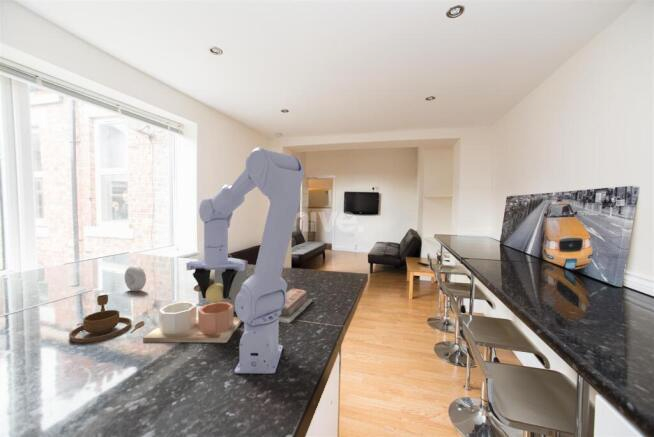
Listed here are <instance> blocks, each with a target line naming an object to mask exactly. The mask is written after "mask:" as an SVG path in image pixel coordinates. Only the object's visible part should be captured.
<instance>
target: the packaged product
mask: <svg viewBox="0 0 654 437" xmlns="http://www.w3.org/2000/svg"><path fill="white" fill-rule="evenodd" d="M286 296H287V301H286V305H285V307H284V308H283V309H281V315H279V323H285V324H290V323H291V322H293V321H294V320H295V318H296V317H298V316H299V315H300V314H301V313H302V312H303V311H304V310H305V309H306V308H307V307H308V306H309V305H310V304H311V303H312V302H313V299H311V298H307V297H308V292H307V290H305V289H299V288H290V289H289V290H286Z"/></svg>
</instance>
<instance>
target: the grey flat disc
mask: <svg viewBox="0 0 654 437" xmlns="http://www.w3.org/2000/svg"><path fill="white" fill-rule="evenodd" d="M146 282H147V276H146V273H145V271H144V269H143V268H142V267H141V266H139V265H137V264H134V265H131V266H129V267H127V269H126V270H125V273H124V283H125V285H126V287H127V288H128V289H129V290H130V291H132V292H139V291H141V290H142V289H143V288H144V287H145V285H146Z"/></svg>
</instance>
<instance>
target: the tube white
mask: <svg viewBox="0 0 654 437" xmlns="http://www.w3.org/2000/svg"><path fill="white" fill-rule="evenodd" d="M158 314H159V322H158V323H159V326H158V327H159V329H160V330H161V332H162V333H164V334H176V333H180V332H183V331H186V330H189V329H191V328H192V327H193V326H194V325H195V324H196V323H197V318H196V316H197V304H196V303H194V302H192V301H178V302H174V303H169V304H166V305H165V306H163V307H162V308H160V309H159V310H158Z"/></svg>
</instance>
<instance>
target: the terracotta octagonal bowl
mask: <svg viewBox="0 0 654 437" xmlns="http://www.w3.org/2000/svg"><path fill="white" fill-rule="evenodd" d="M197 316H198V330H199V331H200V332H201V333H202V334H218V333H221V332H224V331H227V330H229V329H230V328H231V327H232V325H233V317H234V312H233V305H232V304H230V303H228V302H219V303H209V304H205V305H203V306H201V308H200V309H198V311H197Z"/></svg>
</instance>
